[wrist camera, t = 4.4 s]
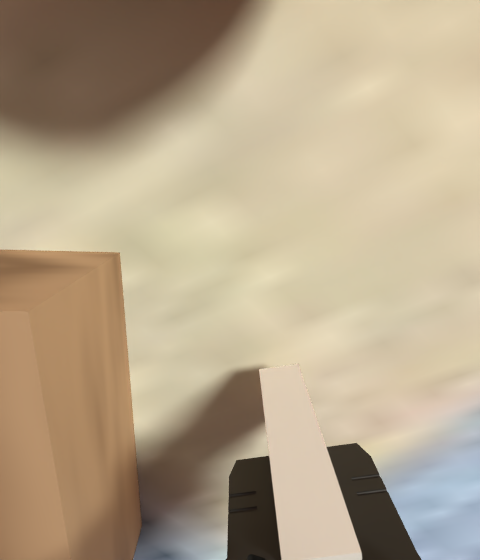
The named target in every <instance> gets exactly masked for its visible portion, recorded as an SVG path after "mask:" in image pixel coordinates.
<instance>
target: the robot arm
mask: <svg viewBox="0 0 480 560" xmlns="http://www.w3.org/2000/svg"><path fill="white" fill-rule="evenodd" d="M259 374H260V382H261V390H262V399H263V407H264V416H265V424H266V433H267V441H268V450H269V456H265V457H258V458H250V459H243V460H236V463H235V465H234V467H233V469H232V471H231V474H230V476H229V507H228V510H229V514H228V549H227V559H226V560H421V558H420V556H419V555H418V553H417V551H416V550H415V547H414V545H413V543H412V541H411V539H410V537H409V535H408V533H407V531H406V529H405V527H404V525H403V522H402V520H401V518H400V516H399V514H398V512H397V510H396V508H395V506H394V504H393V502H392V500H391V498H390V495H389V493H388V492H387V490H386V487H385V485H384V483H383V481H382V479H381V477H380V476H379V473H378V471H377V468H376V466H375V464H374V462H373V460H372V458H371V456H370V455H369V454H368V453H367V452H365V451H364V450H363V449H362V448H361V447H360V446H359V445H358V444H357V443H353V444H346V445H339V446H331V447H326V444H325V441H324V438H323V435H322V432H321V429H320V426H319V423H318V420H317V417H316V414H315V411H314V408H313V405H312V402H311V399H310V396H309V393H308V390H307V387H306V384H305V381H304V378H303V375H302V372H301V369H300V367H299V364H291V365H285V366H278V367H271V368H264V369H259Z"/></svg>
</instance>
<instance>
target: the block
mask: <svg viewBox="0 0 480 560" xmlns="http://www.w3.org/2000/svg"><path fill="white" fill-rule="evenodd" d="M141 527H142V522H141V510H140V497H139V485H138V472H137V460H136V448H135V435H134V423H133V411H132V398H131V386H130V374H129V361H128V349H127V336H126V324H125V312H124V299H123V287H122V275H121V262H120V253H114V252H73V251H32V250H0V560H133V557H134V553H135V549H136V546H137V542H138V538H139V535H140V531H141Z"/></svg>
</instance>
